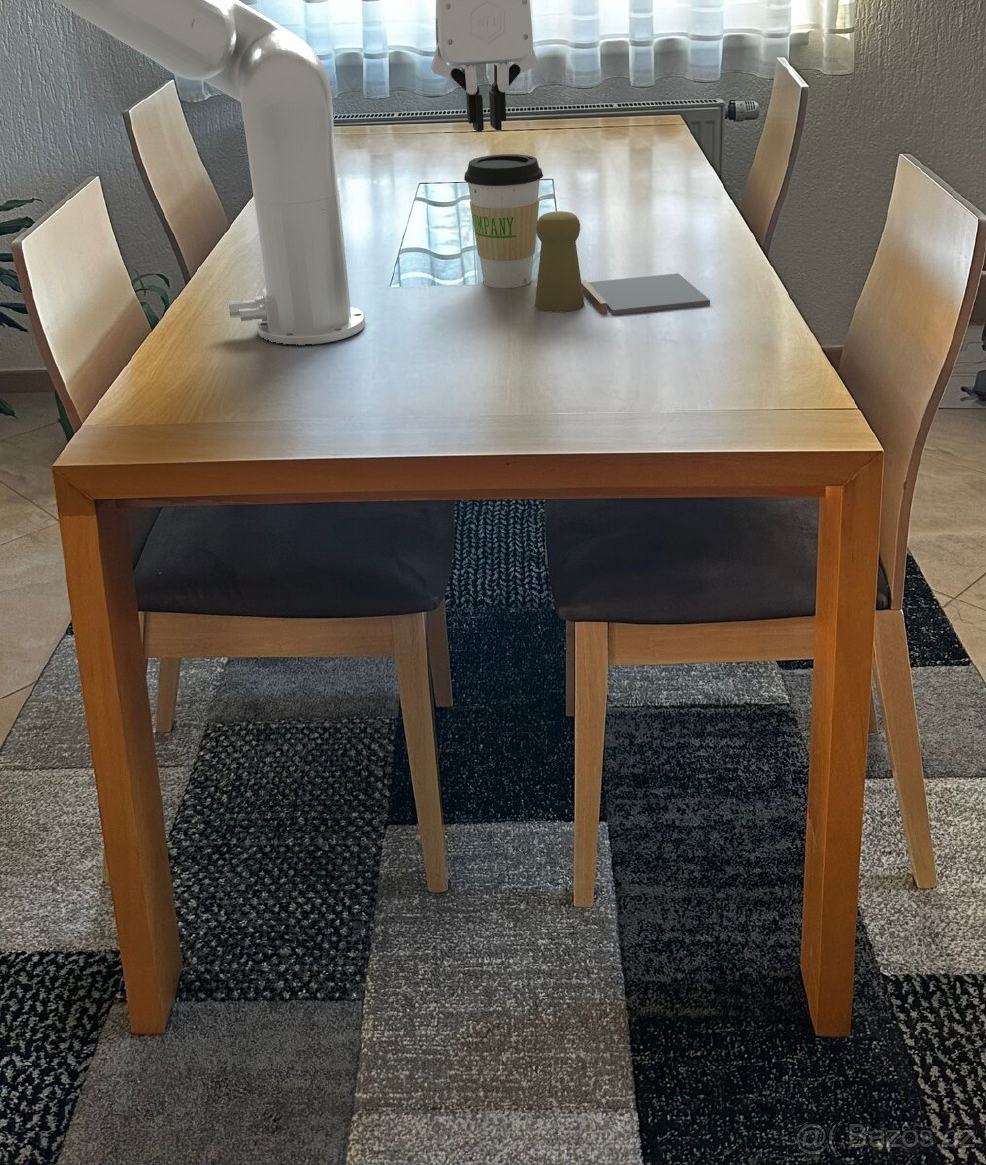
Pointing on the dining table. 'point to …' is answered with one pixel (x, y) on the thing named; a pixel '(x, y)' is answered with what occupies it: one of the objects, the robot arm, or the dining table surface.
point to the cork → (558, 263)
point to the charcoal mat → (649, 293)
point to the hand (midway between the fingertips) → (487, 127)
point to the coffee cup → (505, 216)
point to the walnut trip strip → (594, 297)
